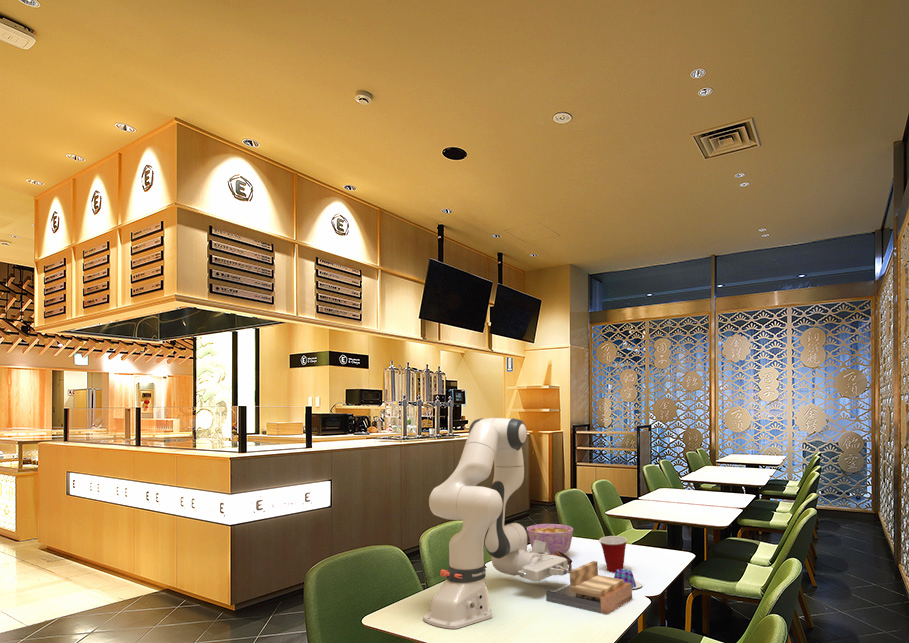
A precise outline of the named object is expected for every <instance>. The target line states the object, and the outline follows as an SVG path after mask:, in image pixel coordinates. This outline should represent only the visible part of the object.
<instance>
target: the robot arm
mask: <svg viewBox="0 0 909 643" xmlns="http://www.w3.org/2000/svg"><path fill="white" fill-rule="evenodd" d="M527 439H528V427H527V426H526V424H525V422H524V421H523V420H522V419H518V418H506V417H505V418H504V417H503V418H502V417H489V418H488V417H487V418H478V419H474V420H473V421H472V422H471V424H470V425H469V428H468V436H467V439H466V441H465V444H464V447H463V449H462V450H463V451H462V453H461V457H460V458H459V462H458V464H457V466H456V468H455V469H454V471H453V472H452V474H450V475H449V477H448V478H447V479H446V480H445V481H443V482H442V483H441V484H440V485H438V486H435V487H434V488H433V490H432V491H431V493H430V495H429V498H428V505H429V509H430V512H431V513H432V514H433V515H434V516H437V517H438V518H439V517H440V518H442V519H445V520H455V521H462V528H461V530H460V531H459V532H458V531H457V532H456V533H455V534H454V535H453V536H452V537H451V538H450V539H449V542H448V550H449V553H448V554H449V558H448V559H449V562H448V563H449V565H448V567H447V569H441V570H440V572H439V575H440V576H441V577H445V581H443V583H442V585H440V588H438V590H437V592H436V593H435V594H434V595H433V597H432V599H431V603H430V604H431V605H430V611H429V612H427V613H426V614H424V615H423V617H422V618H423V619H422V620H423V621H424V622H426V623H427V624H429V625H432V626H436V627H439V628H442V629H443V628H444V629H450V630H451V629H452V630H454V629H456V630H457V629H460V628H463V627H467V626H469V625H472V624H473V625H474V624H476V623H479V622H482V621H486V620H489V619H492V618H493V613H492V611H491V607H490V599H489V591H488V588H487V584H486V581H485V579H486V574H487V573H486V571H487V570H486V565H485V563H484V562H485V558H484V557H485V554H484V553H485V552H484V551H485V550H486V552H487V554H488V555H490V556H491V563H492V566H493V567H494V569H495V570H496V571H498V572H500V573H502V574H506V575H509V576H513V577H514V576H519V577H520V578H523V579H526V580H529V581H533V582H540V581H542V580H545V579H547V578H550V577H552V576H561V577H562V576H564V575H567V574H568V569H569V565H568V564H567V559H565V558H563V557H559V556H555V555H548V553H546V552H540V553H533V552H531V551H527V550H528V539H529V536H528V532H527V529H525V527H524V526H523V525H522V524H521V523H518V522H512V523H508V524H505V514H506V505H507V502H508V500H509V498H510V496H512V495H513V493H515V492H516V491H517V490H519V488H520V487H521V486H522V484H523V482H524V478H525V466H524V462H525V461H524V455H523V453H524V452H523V449H522V448H523V447H524V445H525V443H526V442H527ZM493 465H494V466H493ZM493 467H494V472H493V478H492V484H491V486H490V487H485V486H478V485H479V484H480V483H481V482H484V481H485V480H487V479H488V478H489V477H490V475H491V473H492V469H493ZM484 548H485V550H484Z"/></svg>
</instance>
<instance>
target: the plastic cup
mask: <svg viewBox="0 0 909 643" xmlns="http://www.w3.org/2000/svg"><path fill="white" fill-rule="evenodd" d="M598 542H599V543H600V545H601V549H602V551H603V557H604V562H605V565H606V569H607V571H608V572H610V573H614V574H615V571H616V570H617V569H624V564H625V556H626V554H625V553H626V546H627V542H628V538H626V537H624V536H619V535H609V536H603V537H601V538H599V540H598Z"/></svg>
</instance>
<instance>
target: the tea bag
mask: <svg viewBox="0 0 909 643" xmlns="http://www.w3.org/2000/svg"><path fill="white" fill-rule="evenodd" d="M530 552H533V553H540V552H546V553H548V555H550V552H549V549H548V546H547V543H546V542H542V541H537V540H534V544H533V547H531V550H530Z"/></svg>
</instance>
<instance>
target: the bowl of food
mask: <svg viewBox="0 0 909 643" xmlns="http://www.w3.org/2000/svg"><path fill="white" fill-rule="evenodd" d="M526 532H527V537H528V539H529V543H530V547H531V548H532V547H533V544H534V540H537V541H542V542H546V543H547V546H548V549H549V552H550V555H552V554H555V553H556V551H559V552H561V553H563V554H565V555H567V553H569V550H570V548H571V544H572V539H573V533H574V528H573V527H572V526H570V525H565V524H559V523H558V524H557V523H541V524H540V523H539V524H533V525H530V526H527V527H526Z"/></svg>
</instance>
